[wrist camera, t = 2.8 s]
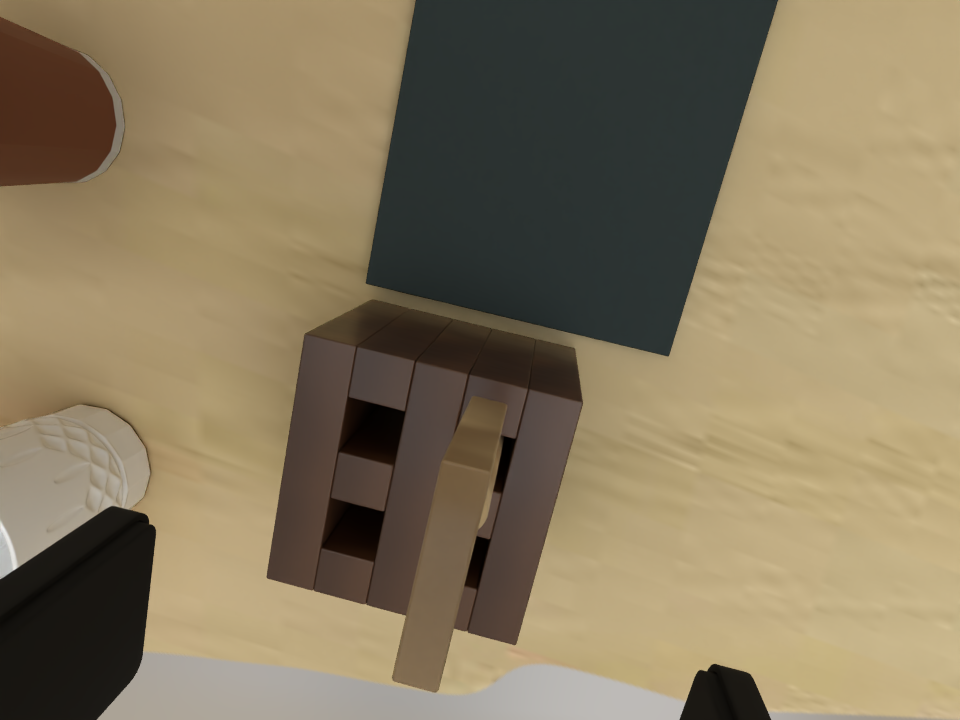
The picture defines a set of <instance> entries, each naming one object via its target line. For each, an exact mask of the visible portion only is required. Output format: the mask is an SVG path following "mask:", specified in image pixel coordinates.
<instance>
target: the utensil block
mask: <svg viewBox="0 0 960 720" xmlns="http://www.w3.org/2000/svg"><path fill="white" fill-rule="evenodd" d="M472 396H477V397H481V398H485V399H489V400H493V401H497V402H501V403H505V404H507V411H506V415H505V419H504V424H503V428H502V432H501V435H502V436H505V437H504V442H503V447H502V451H501V456H500V461H499V465H498V470H497V475H496V479H495V484H494V489H493V494H492V498H491V503H490V508H489V512H488V516H487V519H486V521H485V523H484V524H483V526H482V527H481V528H479V529H478V532H477V536H476V540H475V544H474V548H473V552H472V556H471V560H470V564H469V568H468V572H467V576H466V581H465V585H464V589H463V593H462V597H461V601H460V605H459V609H458V613H457V617H456V621H455V625H454V629H458V630H462V631H468V633H471V634H475V635H479V636H483V637H486V638H490V639H494V640H497V641H501V642H505V643H509V644H512V645H516V643H517V640H518V636H519V633H520V629H521V625H522V622H523V618H524V615H525V611H526V607H527V604H528V600H529V596H530V593H531V589H532V586H533V582H534V578H535V575H536V571H537V568H538V564H539V560H540V557H541V553H542V550H543V546H544V542H545V539H546V535H547V532H548V528H549V524H550V521H551V517H552V513H553V510H554V506H555V503H556V499H557V495H558V492H559V488H560V485H561V481H562V477H563V474H564V470H565V467H566V463H567V459H568V456H569V452H570V449H571V445H572V441H573V438H574V434H575V430H576V427H577V423H578V420H579V416H580V412H581V409H582V405H583V400H582V393H581V386H580V379H579V372H578V365H577V359H576V352H575V349H574V348H570V347H566V346H562V345H558V344H554V343H550V342H546V341H541V340H535V339H533V338H529V337H525V336H521V335H516V334H512V333H508V332H504V331H500V330H496V329H491V328H487V327H483V326H479V325H475V324H471V323H467V322H462V321H458V320H453V319H451V318H447V317H442V316H438V315H434V314H430V313H426V312H422V311H418V310H414V309H409V308H405V307H401V306H397V305H393V304H388V303H384V302H380V301H376V300H370V301H368V302H367V303H365V304H363V305H361V306H359V307H357V308H355V309H353V310H351V311H349V312H347V313H345V314H343V315H341V316H339V317H337V318H335V319H333V320H331V321H329V322H327V323H325V324H323V325H321V326H319V327H317V328H315V329H313V330H311V331H309V332H307V333H305V335H304V341H303V348H302V354H301V360H300V367H299V373H298V379H297V386H296V392H295V399H294V405H293V411H292V418H291V424H290V430H289V437H288V443H287V450H286V456H285V462H284V469H283V475H282V481H281V488H280V494H279V501H278V507H277V513H276V520H275V526H274V532H273V539H272V545H271V552H270V558H269V564H268V571H267V578H268V579H272V580H275V581H279V582H283V583H286V584H290V585H294V586H298V587H301V588H305V589H309V590H313V589H314V591H316V592H320V593H324V594H327V595H331V596H335V597H339V598H342V599H346V600H350V601H353V602H357V603H361V604H366V603H367V605H369V606H372V607H376V608H380V609H384V610H387V611H391V612H395V613H398V614H402V615H406V614H407V610H408V605H409V601H410V596H411V592H412V588H413V583H414V579H415V574H416V570H417V566H418V561H419V557H420V552H421V548H422V544H423V539H424V535H425V530H426V526H427V522H428V517H429V513H430V509H431V504H432V500H433V495H434V491H435V487H436V482H437V478H438V473H439V469H440V465H441V461H442V459H443V457H444V455H445V453H446V450H447V448H448V446H449V444H450V442H451V440H452V438H453V436H454V433H455V431H456V429H457V427H458V425H459V423H460V421H461V419H462V416H463V414H464V412H465V410H466V408H467V406H468V404H469V402H470V400H471V398H472Z"/></svg>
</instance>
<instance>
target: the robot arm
mask: <svg viewBox="0 0 960 720" xmlns="http://www.w3.org/2000/svg"><path fill="white" fill-rule="evenodd" d="M155 538H156V529H155V527H154V526H153V525H150V524H149V519H148V516H147V515H145V514H143V513H139V512H136V511H132V510H128V509H124V508H120V507H117V506H111V507H108V508H106V509H105V510H103V511H102V512H100V513H99V514H97V515H96V516H94V517H93V518H91V519H90V520H88V521H87V522H85V523H84V524H82V525H81V526H79V527H78V528H76V529H75V530H73V531H72V532H70V533H69V534H67V535H66V536H64V537H63V538H61V539H60V540H58V541H57V542H55V543H54V544H52V545H51V546H49V547H48V548H46V549H45V550H43V551H42V552H40V553H39V554H37V555H36V556H34V557H33V558H31V559H30V560H28V561H27V562H25V563H24V564H22V565H21V566H19V567H18V568H16V569H15V570H13V571H12V572H10V573H9V574H7V575H6V576H4V577H3V578H1V579H0V720H97V719H98V717H99V716H100V715H101V714H102V713H103V712H104V711H105V710H106V709H107V707H108V706H109V705H110V704H111V703H112V702H113V701H114V700H115V698H116V697H117V696H118V695H119V694H120V693H121V692H122V691H123V690H124V688H125V687H126V686H127V685H128V684H129V683H130V681H131V680H132V679H133V678H134V676H135V674H136V673H137V671H138V668H139V666H140V663H141V660H142V655H143V646H144V637H145V628H146V619H147V610H148V601H149V592H150V583H151V574H152V565H153V556H154V547H155ZM680 720H771V718H770V716H769V714H768V711H767V709H766V707H765V704H764V702H763V700H762V698H761V695H760V693H759V691H758V688H757V686H756V684H755V682H754V679H753V678H752V676H751V674H749V673H747V672H743V671H740V670H736V669H732V668H728V667H724V666H721V665H717V664H713V665H711V666H710V668H709V669H708V671H703V670H700V671H698V672H697V674H696V676H695V678H694V681H693V684H692V687H691V690H690V692H689V695H688V698H687V701H686V703H685V706H684V709H683V712H682V714H681V717H680Z"/></svg>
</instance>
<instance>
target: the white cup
mask: <svg viewBox="0 0 960 720" xmlns="http://www.w3.org/2000/svg"><path fill="white" fill-rule="evenodd" d="M149 477H150V468H149V462H148V457H147V453H146V448H145V446H144V445H143V443H142V442H141V440H140V439H139V437H138V436H137V434H136V433H135V432H134V430H133V429H132V427H131V426H130V425H129V424H128V423H126V422H125V421H123V420H122V419H120V418H119V417H117V416H116V415H114V414H113V413H111V412H110V411H109V410H107V409H103V408H97V407H92V406H87V405H81V404H80V405H76V406H72V407H69V408H66V409H62V410H59V411H56V412H53V413H50V414H47V415H44V416H41V417H38V418H28V419H25V420H22V421H19V422H16V423H14V424H10V425H6V426H2V427H0V579H1V578H3V577H4V576H6V575H7V574H9V573H10V572H12V571H13V570H15V569H16V568H18V567H19V566H21V565H22V564H24V563H25V562H27V561H28V560H30V559H31V558H33V557H34V556H36V555H37V554H39V553H40V552H42V551H43V550H45V549H46V548H48V547H49V546H51V545H52V544H54V543H55V542H57V541H58V540H60V539H61V538H63V537H64V536H66V535H67V534H69V533H70V532H72V531H73V530H75V529H76V528H78V527H79V526H81V525H82V524H84V523H85V522H87V521H88V520H90V519H91V518H93V517H94V516H96V515H97V514H99V513H100V512H102V511H103V510H105V509H106V508H108V507H111V506H117V507H120V508H124V509H128V510H131V509H132V508H133V507H134V506H135V505H136V504H137V503H138V502H139V501H140V500H141V499H142V498H143V497H144V495H145V492H146V488H147V485H148V481H149Z"/></svg>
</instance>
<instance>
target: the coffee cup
mask: <svg viewBox="0 0 960 720" xmlns="http://www.w3.org/2000/svg"><path fill="white" fill-rule="evenodd" d="M124 129H125V124H124V117H123V110H122V102H121V98H120V96H119V95H118V93H117V91H116V89H115V87H114V85H113V83H112V81H111V79H110V77H109V75H108V74H107V73H106V72H105V71H104V70H103V69H102V68H101V67H100V66H99V65H98V64H97V63H96V62H95V61H94V60H93V59H91V58H90V57H89V56H88V55H86V54H84V53H81V52H79V51H76V50H74V49H71V48H69V47H66V46H64V45H61V44H59V43H57V42H55V41H53V40H50V39H48V38H46V37H44V36H41V35H39V34H37V33H35V32H33V31H30V30H28V29H26V28H24V27H21V26H19V25H17V24H15V23H12V22H10V21H8V20H6V19H4V18H1V17H0V186H14V185H30V184H46V183H71V182H87V181H88V180H90V179H92V178H94V177H96V176H98V175H100V174H102V173H103V172H105V171H106V170H107V169H108V167H109V166H110V164H111V163H112V162H113V160H114V159H115V158H116V156H117V155H118V153H119V152H120V147H121V143H122V138H123V134H124Z"/></svg>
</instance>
